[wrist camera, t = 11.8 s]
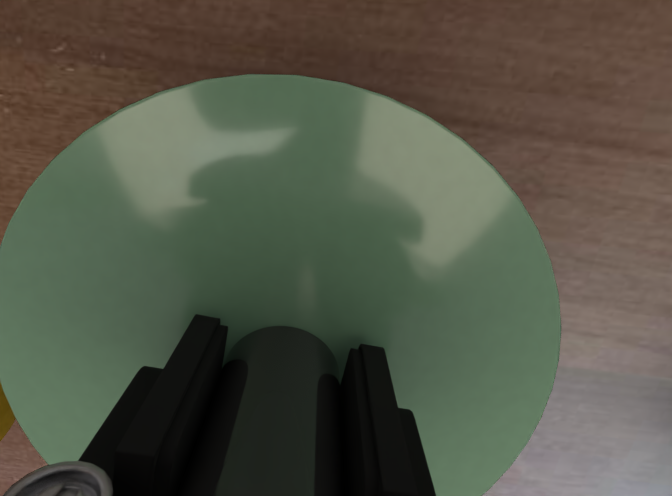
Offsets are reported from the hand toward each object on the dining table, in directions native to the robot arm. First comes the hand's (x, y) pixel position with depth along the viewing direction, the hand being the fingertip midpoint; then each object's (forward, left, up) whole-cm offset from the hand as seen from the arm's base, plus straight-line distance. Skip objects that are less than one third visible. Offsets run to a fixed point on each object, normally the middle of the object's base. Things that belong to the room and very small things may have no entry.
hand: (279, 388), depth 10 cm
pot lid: (0, 0, -1) cm, 1 cm away
